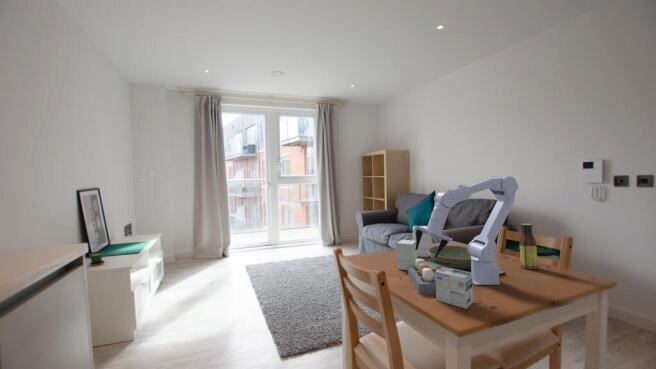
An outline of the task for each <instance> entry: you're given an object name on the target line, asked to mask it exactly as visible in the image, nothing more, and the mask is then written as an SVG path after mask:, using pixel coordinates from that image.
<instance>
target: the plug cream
mask: <svg viewBox="0 0 656 369" xmlns="http://www.w3.org/2000/svg"><path fill="white" fill-rule="evenodd" d="M433 272H434V271H433V268H431V267H430V268H423V269H422V275H423V282H433Z"/></svg>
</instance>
